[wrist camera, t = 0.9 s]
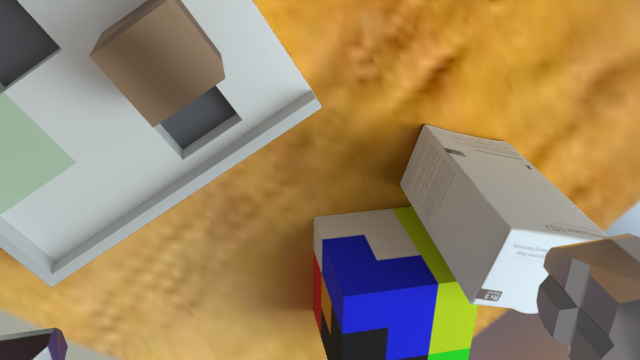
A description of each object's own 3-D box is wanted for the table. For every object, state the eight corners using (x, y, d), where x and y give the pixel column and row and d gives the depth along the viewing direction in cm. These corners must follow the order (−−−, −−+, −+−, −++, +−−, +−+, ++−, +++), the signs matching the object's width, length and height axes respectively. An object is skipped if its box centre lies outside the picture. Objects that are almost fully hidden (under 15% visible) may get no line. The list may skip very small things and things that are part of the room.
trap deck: (147, -158, 30) (143, -162, 27) (311, 89, 39) (322, 107, 36) (-161, 73, 33) (-196, 93, 30) (61, 257, 42) (51, 287, 39)
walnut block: (169, -16, 32) (166, 1, 28) (220, 53, 35) (225, 78, 30) (101, 32, 33) (89, 56, 28) (157, 97, 35) (152, 127, 31)
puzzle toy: (313, 216, 45) (343, 296, 36) (429, 204, 47) (483, 277, 38) (313, 309, 50) (339, 400, 41) (417, 295, 51) (464, 379, 43)
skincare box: (507, 140, 45) (634, 243, 32) (478, 202, 48) (585, 321, 35) (417, 121, 42) (516, 226, 30) (391, 189, 45) (472, 312, 32)
